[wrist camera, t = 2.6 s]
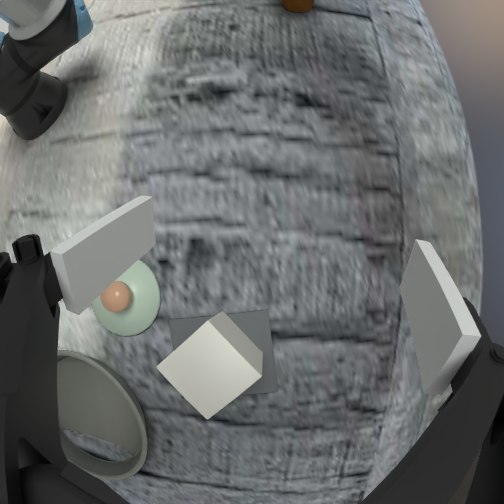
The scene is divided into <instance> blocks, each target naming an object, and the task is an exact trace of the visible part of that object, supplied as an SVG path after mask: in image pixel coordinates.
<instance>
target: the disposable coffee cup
mask: <svg viewBox="0 0 504 504" xmlns="http://www.w3.org/2000/svg"><path fill="white" fill-rule="evenodd" d="M282 1H283V6H284V7H285V8H286V9H287V10H289V11H293V12H307V11H309V10H311V8H312V5H313V2H314V0H282Z"/></svg>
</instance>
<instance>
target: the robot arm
mask: <svg viewBox="0 0 504 504" xmlns="http://www.w3.org/2000/svg"><path fill="white" fill-rule="evenodd" d="M0 18H2V19H3V20H5V21H6V22H7V23H9V32H8V33H7V34H6V35H5V34H4V33H3V32H0V114H2V115H3V116H5V117H6V119H7V120H8V122H9V123H10V125H11V126H12V127H13V130H14V132H15V133H16V134H17V135H18V136H20V137H21V138H23V139H25V140H30V139H33V138H36V137H38V136H39V135H41V134H42V133H43V132H45V131H46V130H47V129H48V128H49V127H50V126H51V125H52V124H53V122H54V121H55V120H56V118H57V117H58V116H59V114H60V112H61V111H62V109H63V107H64V104H65V102H66V98H67V87H66V85H65V84H64V83H63V82H62V80H60V79H59V78H57V77H54V76H51V75H49V74H47V73H44V72H41V71H40V69H41V68H43V67H44V66H45V65H46V64H48V63H49V62H50V61H52V60H53V59H54V58H56V57H57V56H59V55H60V54H61V53H63V52H64V51H66V50H67V49H69V48H70V47H72V46H73V45H75V44H77V43H78V42H79V41H80V40H81V39H82V38H84V37H85V36H87V35H88V34H89V33H90V32H91V31H92V29H93V23H92V20H91V18H90V15H89V13H88V11H87V8H86V6H85V3H84V1H83V0H0ZM155 245H156V240H155V227H154V211H153V197H149V196H139V197H137V198H135V199H134V200H132V201H130V202H128V203H126V204H125V205H123V206H121V207H119V208H118V209H116V210H114V211H112V212H111V213H109V214H107V215H106V216H104V217H102V218H101V219H99V220H97V221H96V222H94V223H92V224H91V225H89V226H87V227H86V228H84V229H83V230H81V231H79V232H78V233H76V234H75V235H73V236H71V237H70V238H68V239H67V240H65V241H64V242H62V243H61V244H59V245H58V246H56V247H55V248H53V249H52V250H50V252H49V253H47V254H46V255H45V256H44V254H43V250H42V246H41V242H40V237H39V236H38V235H35V234H31V235H26V236H23V237H21V238H18V239H17V240H16V241H14V242H13V243H12V247H13V250H14V254H15V258H16V261H17V263H11V259H10V256H9V254H8V253H7V252H1V253H0V504H130V503H128V502H127V501H126V500H125V499H123V498H122V497H121V496H120V495H118V494H117V493H116V492H115V491H113V490H112V489H111V488H110V487H109V486H108V485H106V484H105V483H104V482H103V481H101V480H100V479H98V478H96V477H94V476H93V475H91V474H89V473H88V472H86V471H84V470H83V469H81V468H80V467H78V466H76V465H75V464H73V463H72V462H70V461H69V462H68V460H67V458H66V456H65V454H64V452H63V449H62V446H61V439H60V429H59V416H58V398H57V349H58V330H59V317H60V307H59V304H58V302H59V301H60V300H61V299H62V298H63V300H64V303H65V306H66V309H67V310H69V311H71V312H73V313H76V314H78V315H80V314H81V313H82V312H83V311H84V310H85V309H86V308H87V307H88V306H89V305H90V304H91V303H92V302H93V301H94V300H95V299H96V298H97V297H98V296H99V295H100V294H101V293H102V292H104V291H105V290H106V289H107V288H108V287H109V286H110V285H111V284H112V283H113V282H114V281H115V280H116V279H118V278H119V277H120V276H121V275H122V274H123V273H124V272H125V271H126V270H127V269H129V268H130V267H131V266H132V265H133V264H134V263H135V262H136V261H138V260H139V259H140V258H141V257H142V256H143V255H144V254H145V253H147V252H148V251H149V250H150V249H151V248H152V247H153V246H155ZM399 289H400V293H401V296H402V299H403V303H404V306H405V310H406V314H407V317H408V321H409V325H410V329H411V333H412V337H413V341H414V345H415V350H416V354H417V359H418V363H419V368H420V373H421V378H422V383H423V389H424V394H443V392H444V391H445V390H446V389H447V387H448V386H449V384H450V383H451V387H452V391H453V392H452V393H451V395H450V396H449V397H448V398H447V400H446V401H445V402H444V403H443V405H442V406H441V407H440V408H439V409H438V411H439V412H438V414H437V415H436V416H435V418H434V419H433V421H432V422H431V423H430V425H429V426H428V428H427V429H426V430H425V432H424V433H423V434H422V436H421V437H420V438H419V439H418V441H417V442H416V443H415V444H414V446H413V447H412V448H411V449H410V451H409V452H408V453H407V454H406V455H405V457H404V458H403V459H402V460H401V461H400V462H399V464H398V465H397V466H396V467H395V468H394V469H393V470H392V471H391V472H390V474H389V475H388V476H387V477H386V478H385V479H384V480H383V481H382V482H381V483H380V484H379V485H378V486H377V487H376V488H375V489H374V490H373V491H372V492H371V493H370V494H369V495H368V496H367V497H366V498H365V499H364V500H363V501H362V502H361V503H360V504H448V502H449V501H450V499H451V498H452V496H453V495H454V493H455V492H456V490H457V488H458V487H459V485H460V484H461V482H462V480H463V479H464V477H465V475H466V474H467V472H468V470H469V468H470V466H471V465H472V463H473V461H474V459H475V457H476V455H477V453H478V451H479V449H480V447H481V445H482V448H481V453H480V456H479V460H478V464H477V468H476V471H475V475H474V478H473V481H472V485H471V487H470V491H469V493H468V497H467V499H466V502H465V504H504V348H503V347H502V346H500V345H498V344H496V343H492V342H491V340H490V337H489V336H488V333H487V331H486V329H485V327H484V325H483V323H481V319H480V317H479V316H478V313H477V311H476V310H475V308H474V306H473V305H472V304H471V303H470V302H469V301H468V300H467V299H466V298H464V297H462V296H461V295H460V293H459V291H458V289H457V287H456V285H455V284H454V282H453V280H452V278H451V277H450V275H449V273H448V271H447V270H446V268H445V266H444V265H443V263H442V261H441V260H440V258H439V256H438V255H437V253H436V252H435V250H434V248H433V247H432V245H431V244H430V242H426V241H422V240H417V239H416V240H415V243H414V246H413V250H412V253H411V256H410V259H409V262H408V265H407V268H406V271H405V274H404V277H403V280H402V282H401V285H400V288H399ZM482 443H483V444H482Z"/></svg>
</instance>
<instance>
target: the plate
mask: <svg viewBox="0 0 504 504" xmlns="http://www.w3.org/2000/svg"><path fill="white" fill-rule="evenodd" d="M115 281H122V282H124V283H126V284H127V285H128V286H129V288H130V290H131V293H132V301H131V304H130V306H129V307H128V308H127V309H126V310H124V311H120V312H110V311H108V310H107V309H105V307H104V306H103V305H102V302H101V299H100V295H99V296H98V297H97V298H96V299H95V300H94V301H93V302H92V303H91V305H92V308H93V311H94V313H95V315H96V317H97V319H98V320H99V322H100V323H101V324H102V325H103V326H104V327H105V328H106V329H108V330H109V331H111V332H113V333H115V334H118V335H122V336H131V335H135V334H138V333H140V332H143V331H144V330H146V329H147V328H148V327H149V326H150V325H151V324H152V323H153V322H154V320H155V319H156V317H157V315H158V312H159V309H160V304H161V291H160V286H159V283H158V280H157V278H156V276H155V274H154V272H153V271H152V270H151V268H150V267H149V266H148V265H147V264H145V263H144V262H143V261H141V260H138V261H136V262H135V263H134V264H133V265H132V266H131V267H130V268H129V269H127V270H126V271H125V272H124V273H123V274H122V275H121V276H120V277H119V278H118V279H116V280H115Z"/></svg>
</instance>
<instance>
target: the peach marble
mask: <svg viewBox="0 0 504 504" xmlns="http://www.w3.org/2000/svg"><path fill="white" fill-rule="evenodd" d="M100 299H101V302H102V305H103V306H104V307H105V309H107V310H108V311H110V312H120V311H124V310H126V309H127V308H128V307H129V306H130V304H131V301H132V293H131V290H130V288H129V286H128V285H127V284H126V283H124V282H122V281H114V282H113V283H112V284H111V285H110V286H109V287H108V288H107V289H106V290H105V291H104V292H102V293H101V294H100Z"/></svg>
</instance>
